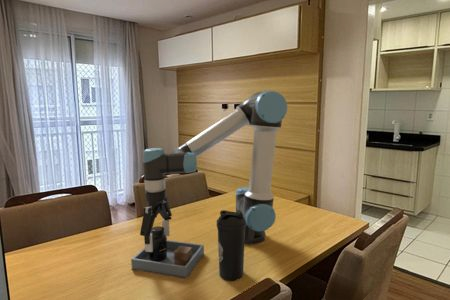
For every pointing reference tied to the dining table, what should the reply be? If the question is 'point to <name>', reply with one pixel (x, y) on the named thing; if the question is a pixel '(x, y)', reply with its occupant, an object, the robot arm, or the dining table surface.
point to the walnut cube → (182, 255)
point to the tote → (168, 260)
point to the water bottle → (231, 244)
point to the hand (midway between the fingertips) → (158, 243)
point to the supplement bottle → (158, 244)
